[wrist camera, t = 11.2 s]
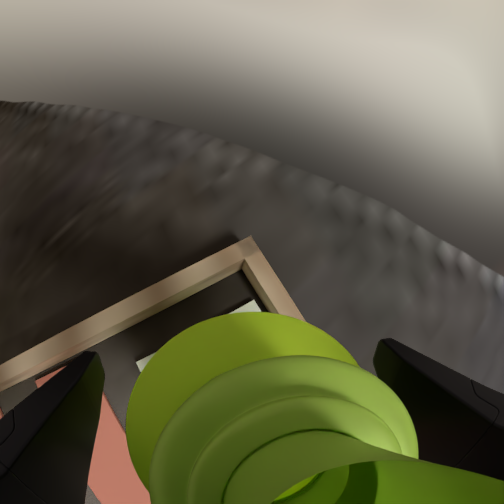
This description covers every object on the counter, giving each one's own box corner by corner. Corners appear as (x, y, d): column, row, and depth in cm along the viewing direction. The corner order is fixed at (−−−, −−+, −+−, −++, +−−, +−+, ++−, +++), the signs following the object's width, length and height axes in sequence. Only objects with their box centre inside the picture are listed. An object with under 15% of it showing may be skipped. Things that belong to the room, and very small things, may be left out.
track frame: (-26, 554, 5) (-35, 558, 3) (-93, 424, 9) (-104, 423, 7) (364, 432, 18) (378, 435, 16) (247, 248, 22) (250, 235, 21)
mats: (39, 544, 10) (38, 545, 9) (-33, 414, 13) (-35, 414, 13) (181, 512, 14) (181, 514, 14) (87, 356, 18) (85, 356, 17)
